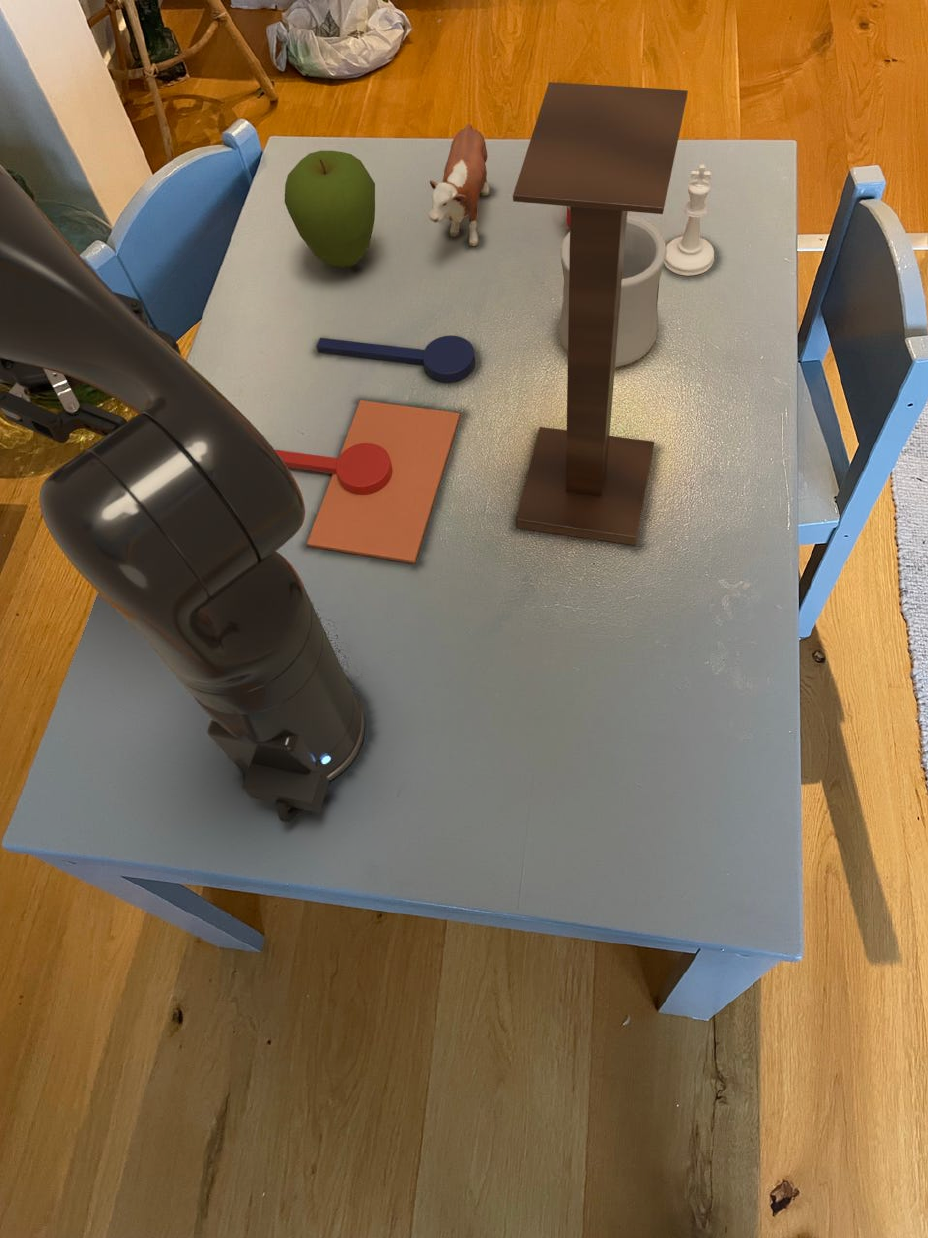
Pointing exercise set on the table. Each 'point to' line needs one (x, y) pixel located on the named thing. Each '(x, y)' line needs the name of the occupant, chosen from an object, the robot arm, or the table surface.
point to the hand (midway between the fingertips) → (153, 389)
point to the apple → (332, 206)
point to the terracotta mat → (389, 484)
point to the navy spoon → (414, 355)
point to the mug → (629, 290)
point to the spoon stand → (595, 293)
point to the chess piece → (692, 232)
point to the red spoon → (348, 466)
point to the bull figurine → (462, 182)
